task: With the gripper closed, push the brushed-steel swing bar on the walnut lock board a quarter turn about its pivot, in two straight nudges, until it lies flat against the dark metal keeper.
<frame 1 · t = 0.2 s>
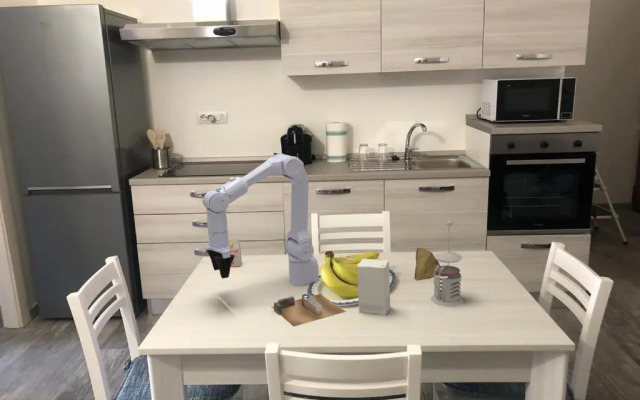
hand: (221, 273, 158), 10 cm above the table, fingers open, 7 cm apart
swing bar: (311, 304, 153), point 2 cm above the table, hinge at 90.0°
french press: (445, 301, 158), on the table
rock: (428, 276, 178), on the table
lock board: (307, 312, 153), on the table
skincare box: (374, 313, 152), on the table
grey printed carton: (232, 266, 193), on the table
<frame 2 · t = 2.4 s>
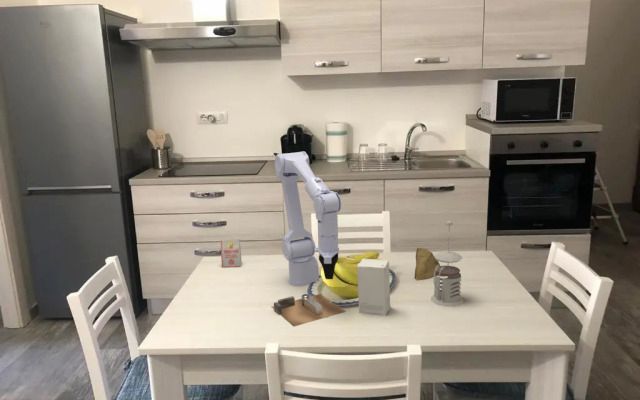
hand: (329, 278, 154), 9 cm above the table, fingers closed
nothing on the table moved.
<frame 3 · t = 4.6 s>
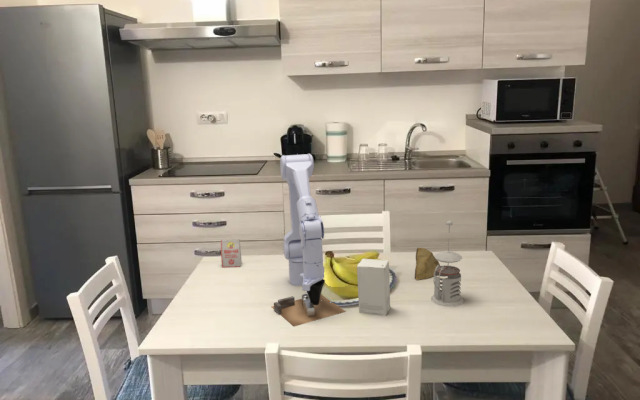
hand: (315, 304, 152), 3 cm above the table, fingers closed, pressing on swing bar
swing bar: (307, 304, 153), point 2 cm above the table, hinge at 72.1°, touching gripper
everything else where it was.
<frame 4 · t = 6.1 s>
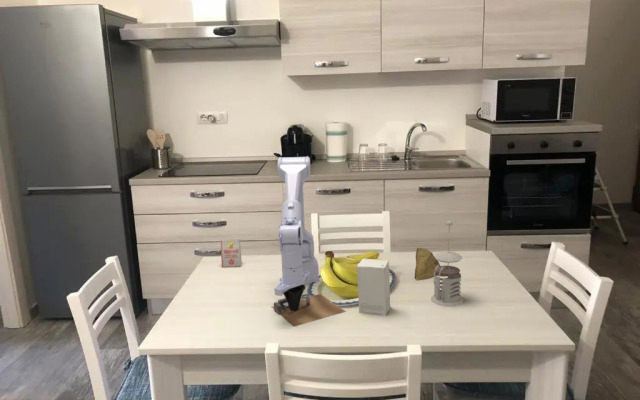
hand: (294, 309, 150), 2 cm above the table, fingers closed
swing bar: (297, 303, 154), point 2 cm above the table, hinge at 12.5°
everything else where it was.
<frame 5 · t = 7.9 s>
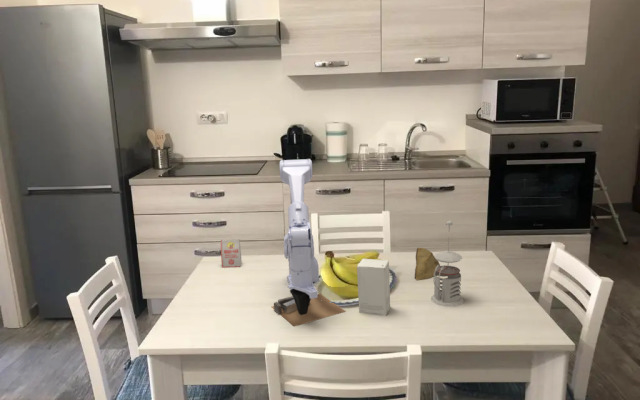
hand: (302, 313, 147), 2 cm above the table, fingers closed
nothing on the table moved.
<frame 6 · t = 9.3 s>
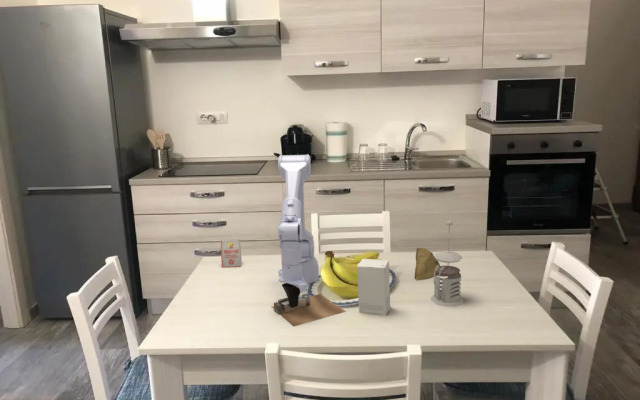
hand: (293, 306, 152), 3 cm above the table, fingers closed, pressing on swing bar
swing bar: (296, 303, 154), point 2 cm above the table, hinge at 6.2°, touching gripper
everything else where it was.
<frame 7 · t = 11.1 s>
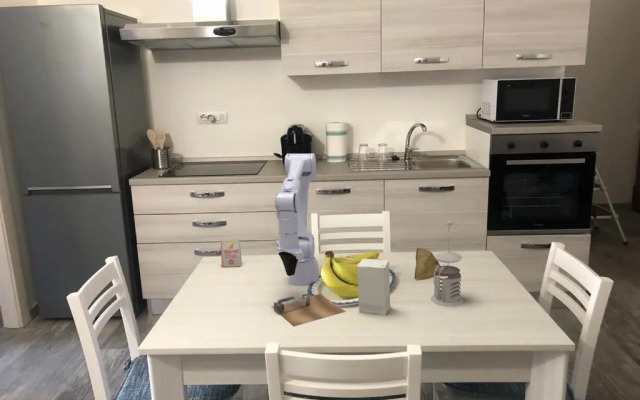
hand: (290, 274, 158), 9 cm above the table, fingers closed
swing bar: (296, 303, 154), point 2 cm above the table, hinge at 3.7°
everything else where it was.
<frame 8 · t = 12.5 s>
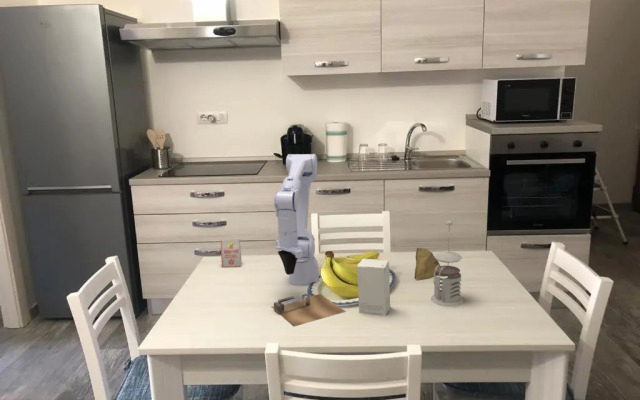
hand: (289, 273, 158), 9 cm above the table, fingers closed
nothing on the table moved.
at the end: swing bar at +4° (first picture: +90°) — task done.
